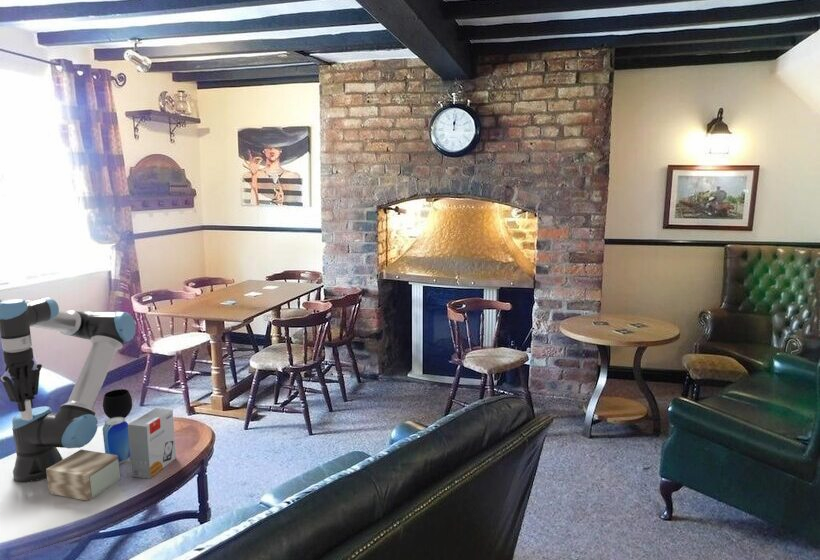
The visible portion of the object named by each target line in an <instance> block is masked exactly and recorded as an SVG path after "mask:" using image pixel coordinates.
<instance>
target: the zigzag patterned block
mask: <svg viewBox="0 0 820 560" xmlns="http://www.w3.org/2000/svg"><path fill="white" fill-rule="evenodd" d="M117 458H118V455H113V454H107V453H105V452H100V451H99V452H98V451H94V450H93V451H92V450H89V449H88V450H87V449H79V450H78V451H76V452H73V453H72V454H70V455H68V456H67V457H65V458H63V460H61V461H60V462H58V463H56V464H54V465H52V466H51V467H49V468H47V469H46V474H47V478H46V481H47V487H48V489H47V490H48V493H49V494H50V495H56V496H62V497H68V498H72V499H77V500H83V501H89V500H92V499H91V498H92V497H91V488H90V480H89V476H90V475H92V474H93V473H95V472H97V471H98V470H100V469H101V468H103V467H104V466H106V465H108V464H109V463H111V462H112V461H114V460H116V459H117Z"/></svg>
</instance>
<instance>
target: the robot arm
mask: <svg viewBox="0 0 820 560" xmlns="http://www.w3.org/2000/svg"><path fill="white" fill-rule="evenodd" d="M30 327H31V328H38V329H43V330H49V331H55V332H59V333H61V334H63V335H64V336H70V337H75V338H79V339H83V340H87V341H90V342H91V344H92V345H91V348H90V350H89V352H88V354H87V357H86V359H85V361H84V363H83V366H82V368H81V370H80V373H79V375H78V376H77V379H76V382H75V384H74V386H73V388H72V391H71V393H70V395H69V398H68V400H67V402H65V403H62V404H61V405H60V407H59V409H58V411H57V412H52V411H53V410H52V408H51V407H50V406H45V405H44V406H43V405H42V406H38V407H37V406H36V407H34V404H33V400H34V399H35V398H36V397H35V396H37V395H38V393H39V384H40V373H41V369H42V367H43V365H42V363H41V364H40V363H39V364H38V363H36V362H35V361H34V360H33V359H34V358H35V357H34V349H33V348H32V346H33V344H32V342H33V341H32V335H31V328H30ZM135 335H136V323H135V320H134V317H133V316H132V315H131V314H130V313H128V312H126V311H120V310H116V311H107V310H106V311H105V310H104V311H101V310H100V311H99V310H98V311H97V310H90V311H88V310H87V311H78V310H77V311H76V310H67V311H64V310H63V311H62V310H60V306H59V304H58V303H57V301H56V300H55V299H53V298H51V297H41V298H38V299H24V298H23V299H20V298H16V299H13V298H12V299H4V298H1V299H0V341H1V349H2V350H3V352H2V353H3V361H4V364H5V369H4V371H5V372H4V373H3V374H2V375H0V382H1V384H2V385H3V387H4V389H5V390H4V391H6V394H7V397H8V398H9V401H10V403H11V402H12V403H17V408H18V412H20V413H18V414H16V415H15V416H14V417H13V419H12V420H11V422H12V423H11V424H12V425H11V426H12V435H13V440H14V447H15V453H16V458H15V463H14V467H13V470H12V475H13V480H15V481H16V482H20V483H28V482H29V483H30V482H36V481H40V480H44V479H47V474H46V469H47V468H49V467H51V466H52V465H54V464H56V463H58V462H60V461H61V460H63V459H64V458H63V456H62V455H61V453H60V452H59V449H58V448H62V449H63V448H64V449H80V448H83V447H85V446H86V445H88V444H89V443H90V442H91V441H92V440H93V439H94V437H95V436H96V433H97V430H98V428H99V427H98V423H99V422H98V419H97V417H96V411H95V409H94V406H95V403H97V399H98V397H99V394H100V392H101V390H102V387H103V384H104V382H105V380H106V378H107V375H108V373H109V370H110V367H111V366H112V362H113V360H114V357H115V354H116V353H117V351H119V350H122V348H123V347H124V345H125V342H126V343H127V342H130V341H132V340H133V339H134V337H135Z"/></svg>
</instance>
